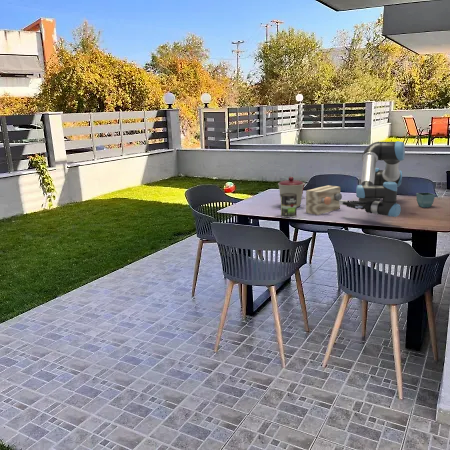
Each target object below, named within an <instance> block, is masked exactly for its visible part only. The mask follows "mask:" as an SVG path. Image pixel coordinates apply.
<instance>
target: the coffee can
mask: <svg viewBox="0 0 450 450" xmlns="http://www.w3.org/2000/svg"><path fill="white" fill-rule="evenodd" d="M297 208H298V207H297V194H294V193H284V194H281V199H280V217H281V216H282V218H285V217H292V218H296V217H297V216H298V215H297Z"/></svg>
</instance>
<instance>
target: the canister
mask: <svg viewBox="0 0 450 450" xmlns="http://www.w3.org/2000/svg"><path fill="white" fill-rule="evenodd" d="M304 183H305V182H304V181H301V180H298V179H294V176H289V177H288V179H287V180H286V179H285V180H282V181H280V182H278V183H277V185H278V189H279V190H278V191H279V197H280V200H281V194H284V193H294V194H297V208H299V207H300V206H301V203H302V199H303V198H302V197H303V194H302V192H303V193H304V189H303V185H304ZM304 186H305V185H304Z"/></svg>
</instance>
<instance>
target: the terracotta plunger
mask: <svg viewBox="0 0 450 450" xmlns="http://www.w3.org/2000/svg"><path fill="white" fill-rule="evenodd" d="M321 202H324V203H325V204H326V205H329V204H330V203H331V198H330V197H325V198H321Z"/></svg>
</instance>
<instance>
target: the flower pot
mask: <svg viewBox="0 0 450 450" xmlns="http://www.w3.org/2000/svg"><path fill="white" fill-rule="evenodd" d="M415 195H416V202H417V205H418V207H421V208H422V209H423V208H431V207H432V205H434V201H435V197H436V194H434V193H431V192H416V193H415Z"/></svg>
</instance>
